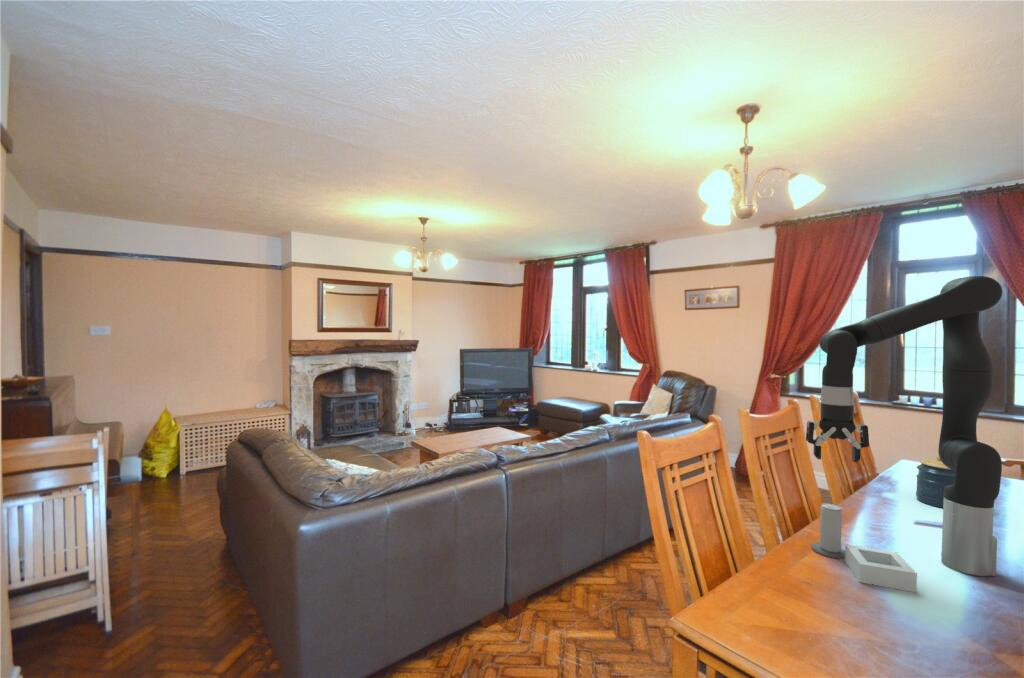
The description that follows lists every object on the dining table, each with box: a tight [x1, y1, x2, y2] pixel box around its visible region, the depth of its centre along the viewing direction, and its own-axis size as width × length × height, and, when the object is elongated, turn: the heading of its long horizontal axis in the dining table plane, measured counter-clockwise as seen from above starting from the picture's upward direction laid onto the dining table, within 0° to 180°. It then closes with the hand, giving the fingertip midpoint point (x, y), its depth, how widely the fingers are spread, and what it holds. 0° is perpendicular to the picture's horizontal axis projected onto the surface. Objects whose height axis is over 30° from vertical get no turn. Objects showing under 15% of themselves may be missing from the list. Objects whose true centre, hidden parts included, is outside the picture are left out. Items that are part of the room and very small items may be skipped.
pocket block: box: [844, 543, 918, 593], centre depth 114 cm, size 11×11×4 cm
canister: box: [915, 454, 956, 509], centre depth 163 cm, size 13×13×18 cm
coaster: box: [811, 542, 845, 560], centre depth 126 cm, size 8×8×1 cm
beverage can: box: [819, 503, 843, 553], centre depth 126 cm, size 5×5×12 cm
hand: (836, 460), depth 127 cm, fingers open, 8 cm apart
